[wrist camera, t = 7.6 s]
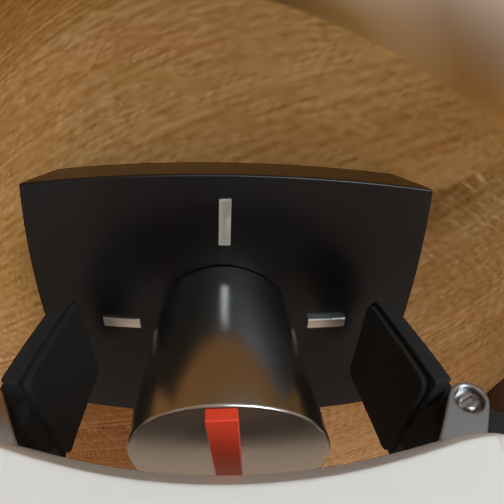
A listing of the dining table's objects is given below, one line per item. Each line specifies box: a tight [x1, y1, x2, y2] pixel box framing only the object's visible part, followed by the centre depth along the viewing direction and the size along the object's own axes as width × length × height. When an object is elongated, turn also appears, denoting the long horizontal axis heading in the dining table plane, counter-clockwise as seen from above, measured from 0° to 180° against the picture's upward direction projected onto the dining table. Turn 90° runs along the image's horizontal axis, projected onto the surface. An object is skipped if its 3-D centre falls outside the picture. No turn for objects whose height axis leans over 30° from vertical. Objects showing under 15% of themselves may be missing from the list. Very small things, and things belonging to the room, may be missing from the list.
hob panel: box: [19, 162, 432, 408], centre depth 12 cm, size 14×10×3 cm
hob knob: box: [127, 267, 330, 476], centre depth 8 cm, size 4×4×6 cm
